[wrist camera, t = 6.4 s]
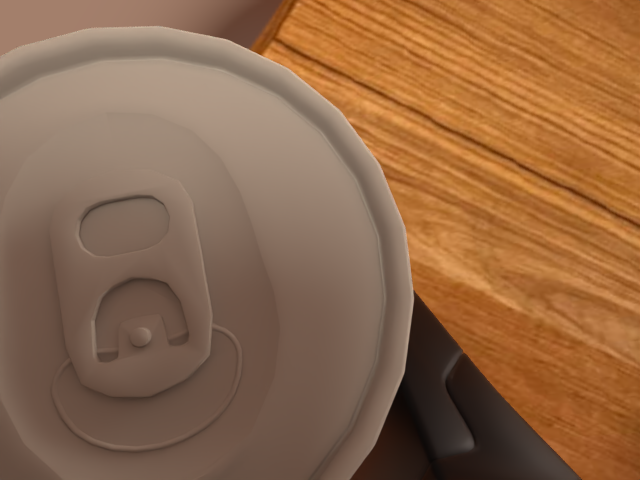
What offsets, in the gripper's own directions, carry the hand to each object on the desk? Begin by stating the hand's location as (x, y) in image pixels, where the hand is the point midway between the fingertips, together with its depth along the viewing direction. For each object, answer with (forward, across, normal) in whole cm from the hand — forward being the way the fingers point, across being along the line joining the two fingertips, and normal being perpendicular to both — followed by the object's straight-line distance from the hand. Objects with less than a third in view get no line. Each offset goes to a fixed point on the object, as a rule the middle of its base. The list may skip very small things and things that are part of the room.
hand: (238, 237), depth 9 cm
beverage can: (+4, 0, +6) cm, 7 cm away
